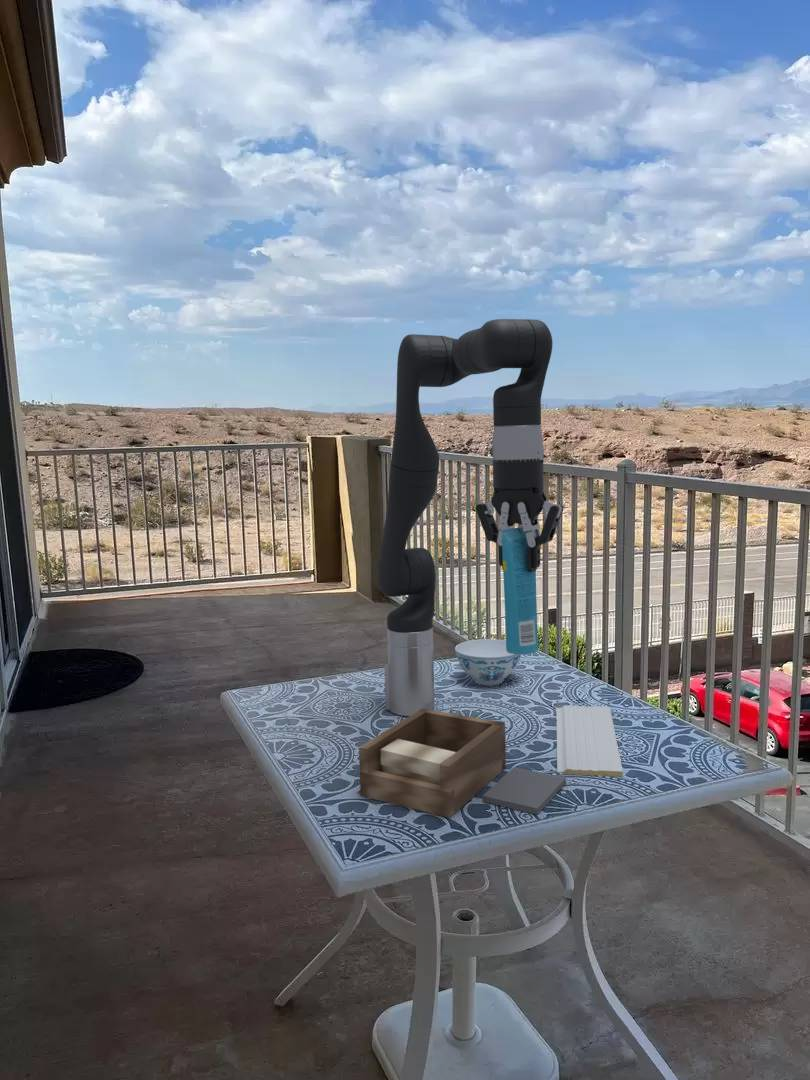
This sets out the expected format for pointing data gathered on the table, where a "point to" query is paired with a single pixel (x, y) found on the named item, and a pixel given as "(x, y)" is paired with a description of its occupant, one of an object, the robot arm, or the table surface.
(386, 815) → the table surface
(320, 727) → the table surface
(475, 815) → the table surface
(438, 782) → the offcut middle
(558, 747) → the baseboard molding
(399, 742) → the offcut top
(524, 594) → the tube
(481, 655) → the chinaware
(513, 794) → the mat
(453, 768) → the open wooden box
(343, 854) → the table surface
